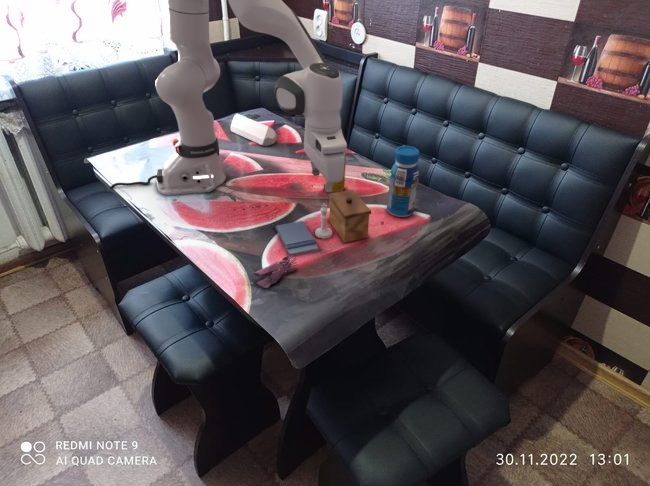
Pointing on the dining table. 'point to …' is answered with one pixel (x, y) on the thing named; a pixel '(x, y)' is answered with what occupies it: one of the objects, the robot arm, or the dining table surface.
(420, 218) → the dining table surface
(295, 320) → the dining table surface
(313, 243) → the grey flat slab
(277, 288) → the dining table surface
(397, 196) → the beverage bottle
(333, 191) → the yellow cylinder
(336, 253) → the dining table surface
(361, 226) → the bread box
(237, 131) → the crystal
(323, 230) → the chess piece
